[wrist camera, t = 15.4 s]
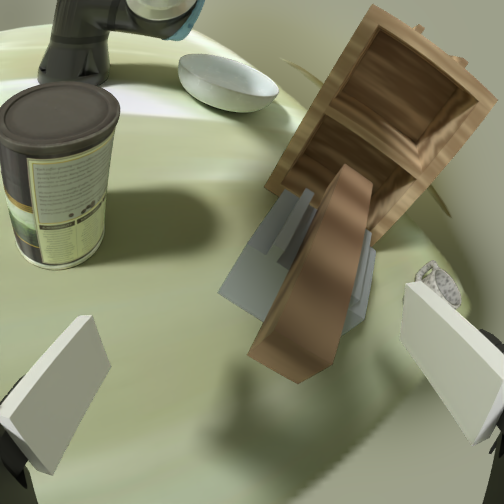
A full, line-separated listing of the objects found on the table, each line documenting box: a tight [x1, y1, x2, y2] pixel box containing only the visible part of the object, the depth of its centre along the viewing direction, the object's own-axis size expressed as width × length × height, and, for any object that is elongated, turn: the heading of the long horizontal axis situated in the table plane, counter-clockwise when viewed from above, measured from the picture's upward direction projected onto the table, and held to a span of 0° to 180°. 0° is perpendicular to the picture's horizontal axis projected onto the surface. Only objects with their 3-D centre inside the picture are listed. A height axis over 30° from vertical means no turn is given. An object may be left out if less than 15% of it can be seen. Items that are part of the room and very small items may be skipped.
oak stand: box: [264, 4, 498, 247], centre depth 39 cm, size 14×18×31 cm
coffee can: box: [0, 81, 120, 270], centre depth 23 cm, size 10×10×14 cm
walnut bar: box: [247, 164, 373, 384], centre depth 27 cm, size 24×4×4 cm, turn 156°
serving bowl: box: [178, 54, 279, 112], centre depth 57 cm, size 21×21×7 cm
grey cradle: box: [218, 188, 376, 336], centre depth 31 cm, size 10×12×10 cm
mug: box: [403, 260, 461, 309], centre depth 42 cm, size 10×7×7 cm, turn 169°
